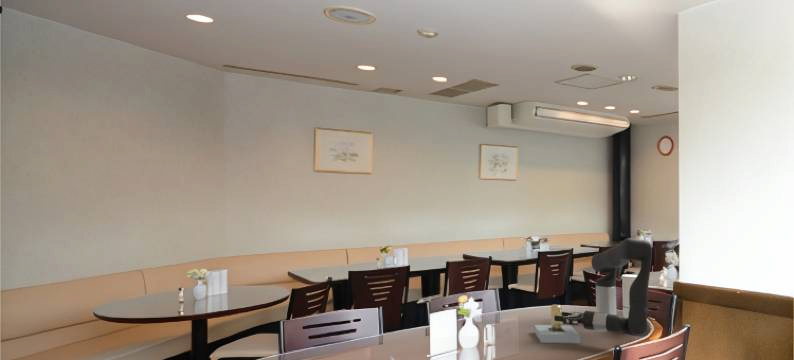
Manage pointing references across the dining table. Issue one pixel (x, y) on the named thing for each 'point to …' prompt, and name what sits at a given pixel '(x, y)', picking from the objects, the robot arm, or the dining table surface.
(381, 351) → the dining table surface
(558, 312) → the yellow tall cylinder
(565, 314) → the robot arm
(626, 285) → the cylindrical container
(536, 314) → the dining table surface
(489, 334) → the dining table surface
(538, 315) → the dining table surface
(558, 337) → the jig
